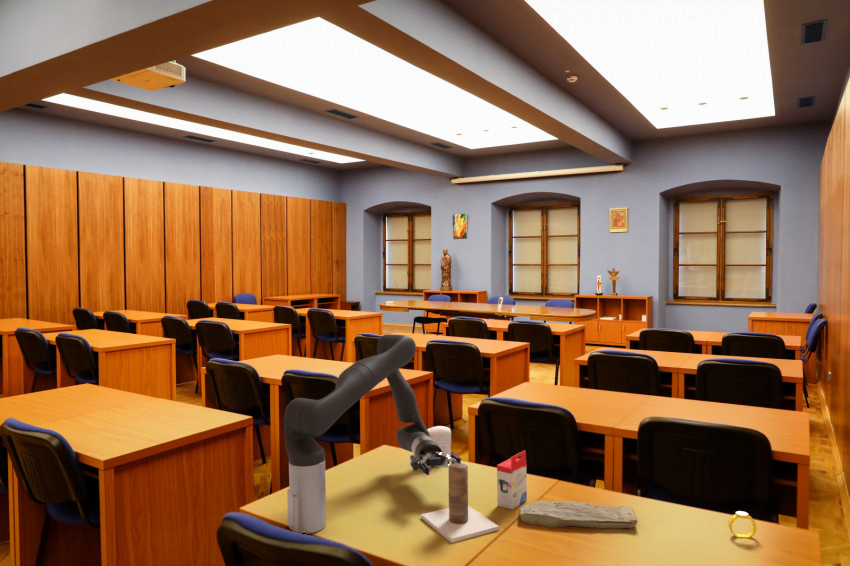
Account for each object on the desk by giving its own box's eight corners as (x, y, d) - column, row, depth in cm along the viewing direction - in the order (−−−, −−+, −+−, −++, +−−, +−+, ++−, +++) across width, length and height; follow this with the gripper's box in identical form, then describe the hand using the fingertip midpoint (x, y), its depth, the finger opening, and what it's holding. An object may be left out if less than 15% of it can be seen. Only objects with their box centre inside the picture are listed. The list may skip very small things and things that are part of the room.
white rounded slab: (444, 458, 201) (445, 423, 201) (452, 462, 198) (453, 426, 198) (420, 463, 195) (421, 426, 195) (427, 466, 192) (429, 429, 192)
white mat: (451, 542, 139) (451, 538, 139) (421, 518, 153) (421, 514, 153) (498, 530, 146) (498, 526, 146) (465, 507, 160) (465, 503, 160)
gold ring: (732, 540, 140) (730, 515, 140) (727, 534, 142) (726, 511, 142) (758, 539, 139) (756, 515, 139) (753, 534, 141) (751, 510, 141)
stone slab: (518, 497, 160) (630, 498, 155) (519, 511, 160) (631, 513, 155) (519, 515, 148) (640, 517, 143) (520, 531, 148) (641, 533, 143)
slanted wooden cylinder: (455, 525, 146) (454, 470, 146) (445, 518, 151) (445, 465, 151) (471, 521, 148) (471, 467, 148) (462, 514, 153) (461, 462, 153)
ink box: (512, 496, 167) (511, 446, 167) (527, 500, 164) (526, 449, 164) (496, 506, 161) (496, 454, 160) (512, 510, 157) (511, 457, 157)
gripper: (404, 440, 173) (418, 459, 157) (448, 437, 177) (467, 455, 161) (403, 465, 173) (418, 485, 158) (448, 461, 177) (466, 481, 162)
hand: (442, 470), depth 160 cm, fingers open, 8 cm apart
